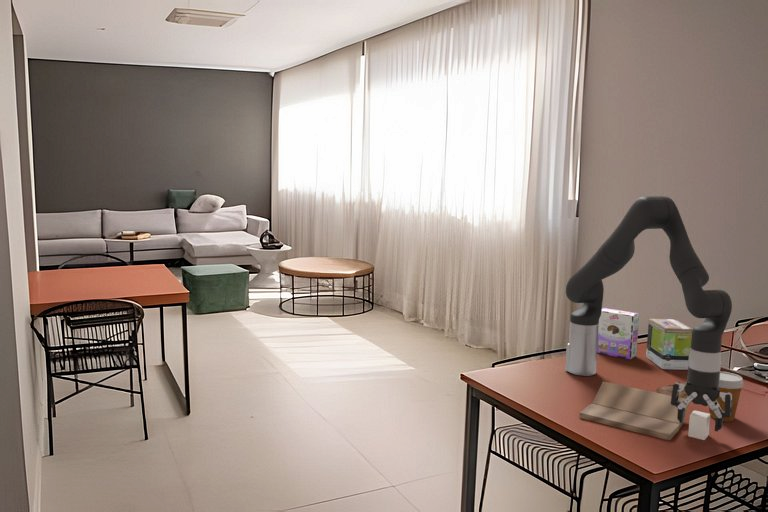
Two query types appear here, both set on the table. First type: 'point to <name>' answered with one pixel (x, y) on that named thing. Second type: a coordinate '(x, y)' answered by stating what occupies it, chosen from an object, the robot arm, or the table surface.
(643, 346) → the table surface
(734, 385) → the disposable coffee cup
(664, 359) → the tea box
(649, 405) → the board
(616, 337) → the candy box
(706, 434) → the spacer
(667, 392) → the flat brown piece
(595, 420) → the floor board
